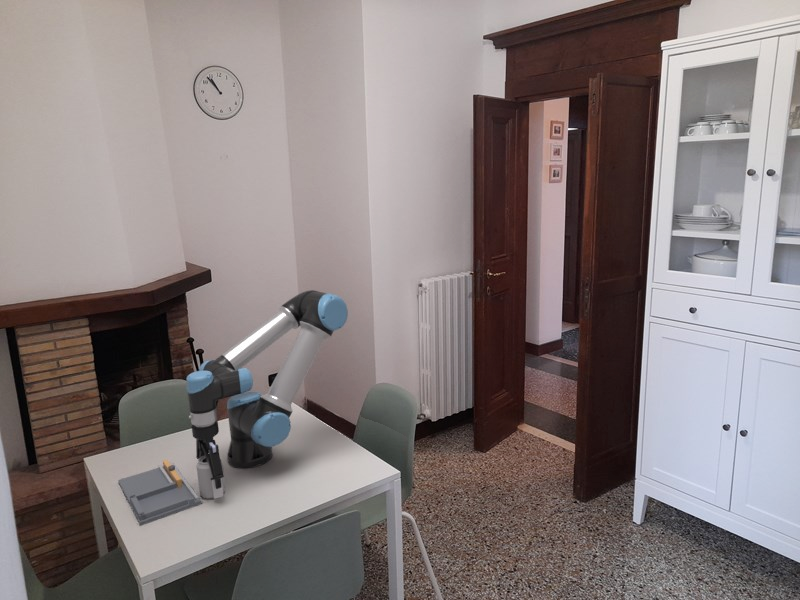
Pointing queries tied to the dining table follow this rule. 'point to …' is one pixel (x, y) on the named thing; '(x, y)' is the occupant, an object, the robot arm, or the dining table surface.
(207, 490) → the can
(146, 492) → the housing
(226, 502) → the dining table surface
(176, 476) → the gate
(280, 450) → the dining table surface
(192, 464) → the dining table surface
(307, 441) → the dining table surface
